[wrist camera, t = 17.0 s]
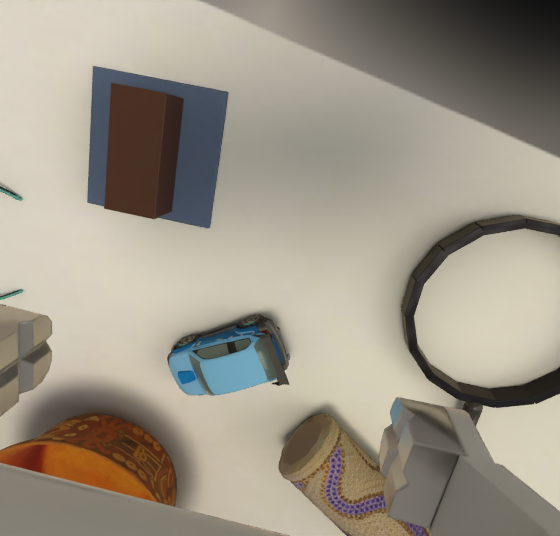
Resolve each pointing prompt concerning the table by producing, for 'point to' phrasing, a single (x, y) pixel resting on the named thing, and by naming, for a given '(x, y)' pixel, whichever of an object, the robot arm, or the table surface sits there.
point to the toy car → (230, 358)
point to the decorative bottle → (340, 480)
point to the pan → (470, 394)
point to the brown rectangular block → (142, 150)
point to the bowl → (100, 457)
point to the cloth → (192, 145)
